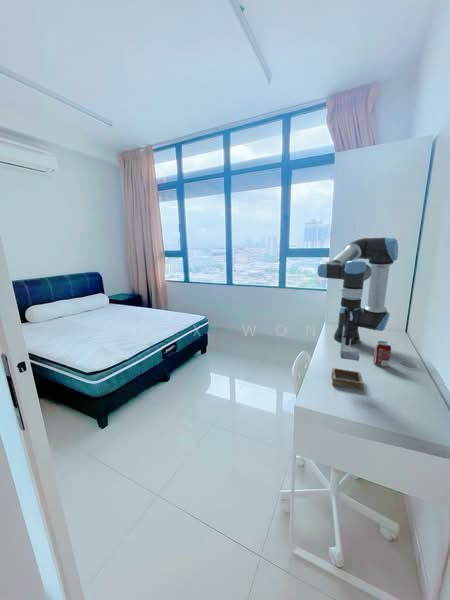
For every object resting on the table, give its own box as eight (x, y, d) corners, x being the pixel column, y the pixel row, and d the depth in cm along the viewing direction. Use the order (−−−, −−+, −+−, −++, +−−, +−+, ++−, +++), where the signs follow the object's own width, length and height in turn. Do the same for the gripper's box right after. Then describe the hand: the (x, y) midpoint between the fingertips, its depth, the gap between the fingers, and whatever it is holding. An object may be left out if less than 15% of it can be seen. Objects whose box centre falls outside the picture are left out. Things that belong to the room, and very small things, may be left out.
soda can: (390, 368, 124) (394, 346, 122) (375, 366, 126) (379, 345, 123) (384, 361, 131) (388, 340, 128) (371, 360, 132) (374, 340, 129)
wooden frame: (331, 374, 119) (332, 367, 118) (359, 379, 115) (360, 372, 114) (332, 385, 110) (333, 378, 109) (362, 390, 106) (363, 383, 105)
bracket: (341, 358, 108) (344, 328, 105) (340, 353, 113) (343, 324, 109) (358, 360, 106) (363, 330, 102) (357, 356, 110) (361, 326, 107)
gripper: (340, 293, 113) (334, 340, 119) (343, 301, 97) (337, 356, 102) (358, 294, 111) (352, 342, 116) (365, 303, 94) (357, 358, 99)
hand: (345, 348), depth 109 cm, fingers closed on bracket, 5 cm apart
